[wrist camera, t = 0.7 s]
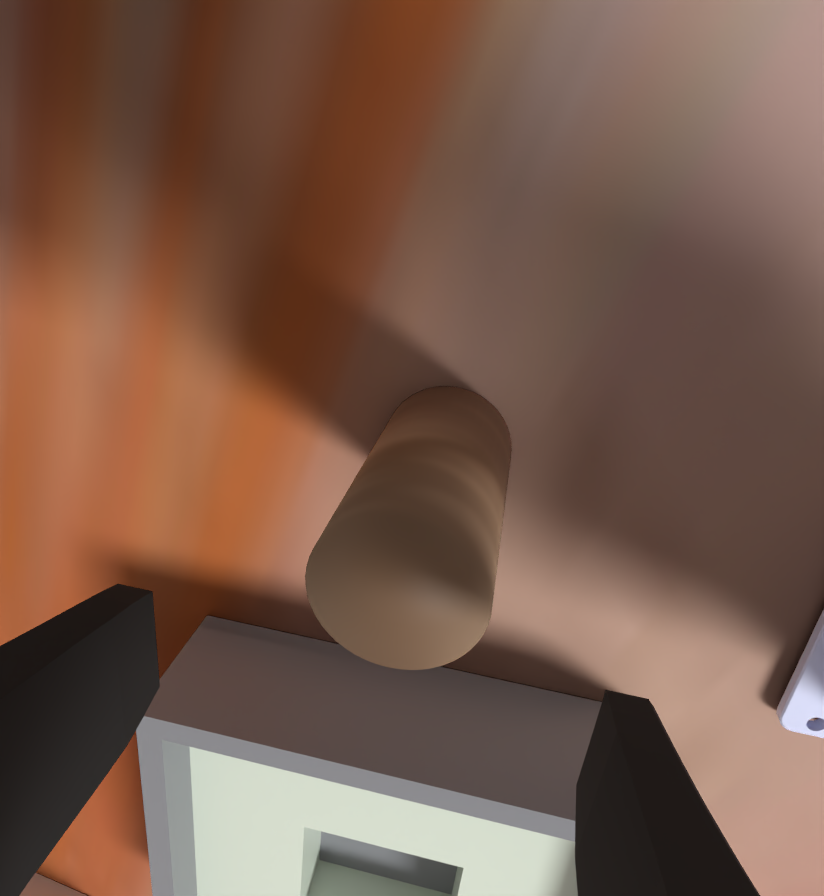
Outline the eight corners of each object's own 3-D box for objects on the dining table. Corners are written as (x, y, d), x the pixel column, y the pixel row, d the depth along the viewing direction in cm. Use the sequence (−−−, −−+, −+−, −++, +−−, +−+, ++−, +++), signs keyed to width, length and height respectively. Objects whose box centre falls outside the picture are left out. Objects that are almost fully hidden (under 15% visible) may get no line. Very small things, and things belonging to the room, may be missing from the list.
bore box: (645, 711, 21) (667, 843, 17) (548, 985, 28) (548, 1125, 24) (207, 614, 23) (134, 713, 19) (216, 894, 30) (164, 1010, 26)
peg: (521, 397, 18) (507, 533, 11) (500, 512, 19) (476, 686, 13) (392, 376, 18) (308, 495, 12) (380, 490, 20) (302, 648, 13)
